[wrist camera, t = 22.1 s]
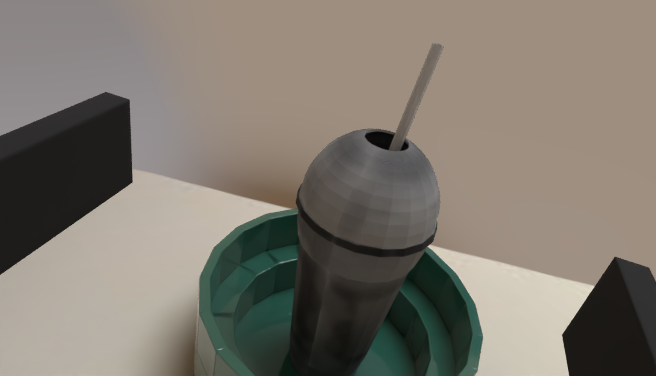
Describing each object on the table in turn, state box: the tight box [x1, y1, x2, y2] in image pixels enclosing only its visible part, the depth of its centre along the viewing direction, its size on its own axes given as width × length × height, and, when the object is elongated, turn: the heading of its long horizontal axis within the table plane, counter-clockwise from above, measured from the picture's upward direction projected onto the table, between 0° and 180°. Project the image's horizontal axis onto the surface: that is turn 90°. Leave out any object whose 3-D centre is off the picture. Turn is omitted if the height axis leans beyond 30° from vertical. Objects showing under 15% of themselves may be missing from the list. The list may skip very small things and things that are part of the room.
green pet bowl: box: [194, 208, 483, 376], centre depth 28 cm, size 16×16×6 cm
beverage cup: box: [289, 43, 444, 376], centre depth 24 cm, size 7×7×20 cm
